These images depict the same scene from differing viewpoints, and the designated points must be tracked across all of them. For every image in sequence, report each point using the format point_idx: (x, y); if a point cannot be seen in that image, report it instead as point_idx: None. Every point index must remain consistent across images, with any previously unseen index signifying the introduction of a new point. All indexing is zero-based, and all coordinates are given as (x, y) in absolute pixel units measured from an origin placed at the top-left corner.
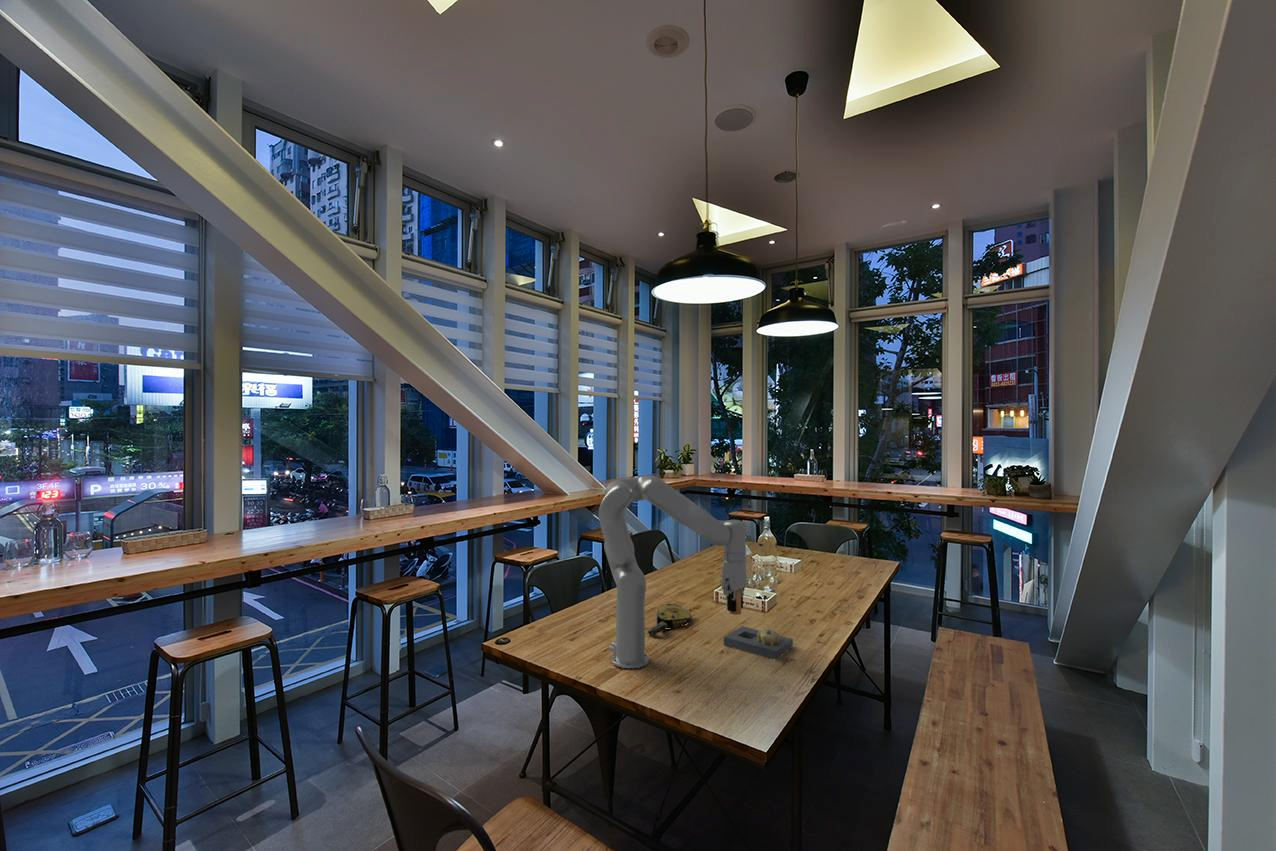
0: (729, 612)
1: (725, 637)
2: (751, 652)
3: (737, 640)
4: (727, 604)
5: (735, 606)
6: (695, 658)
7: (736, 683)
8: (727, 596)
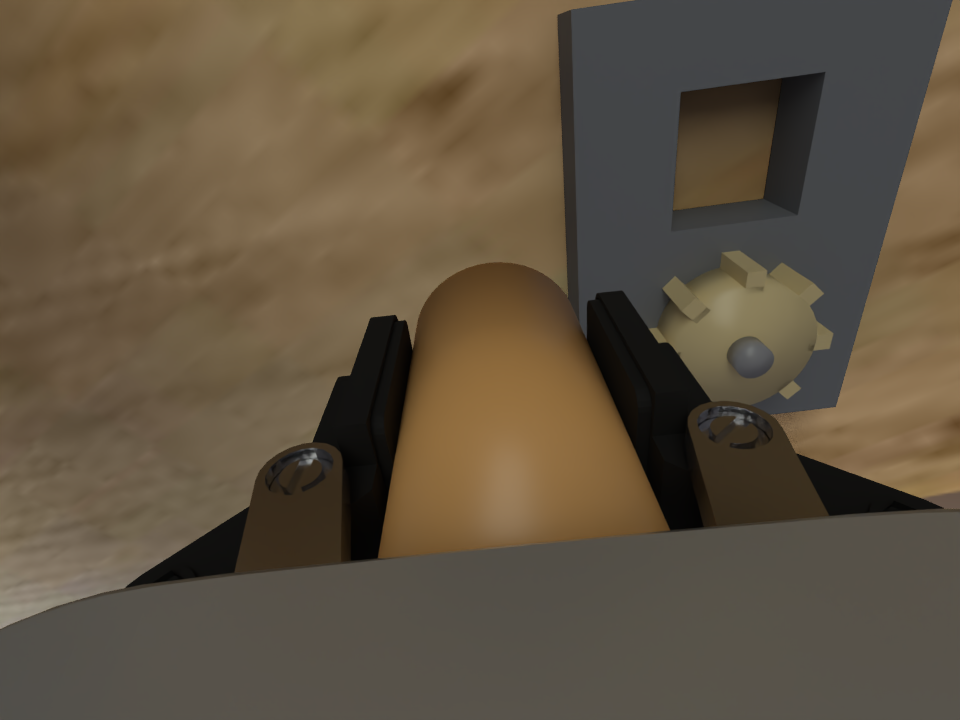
0: (435, 290)
1: (571, 34)
2: (568, 268)
3: (580, 165)
4: (359, 363)
5: None
6: (164, 24)
7: (187, 425)
8: (212, 565)
